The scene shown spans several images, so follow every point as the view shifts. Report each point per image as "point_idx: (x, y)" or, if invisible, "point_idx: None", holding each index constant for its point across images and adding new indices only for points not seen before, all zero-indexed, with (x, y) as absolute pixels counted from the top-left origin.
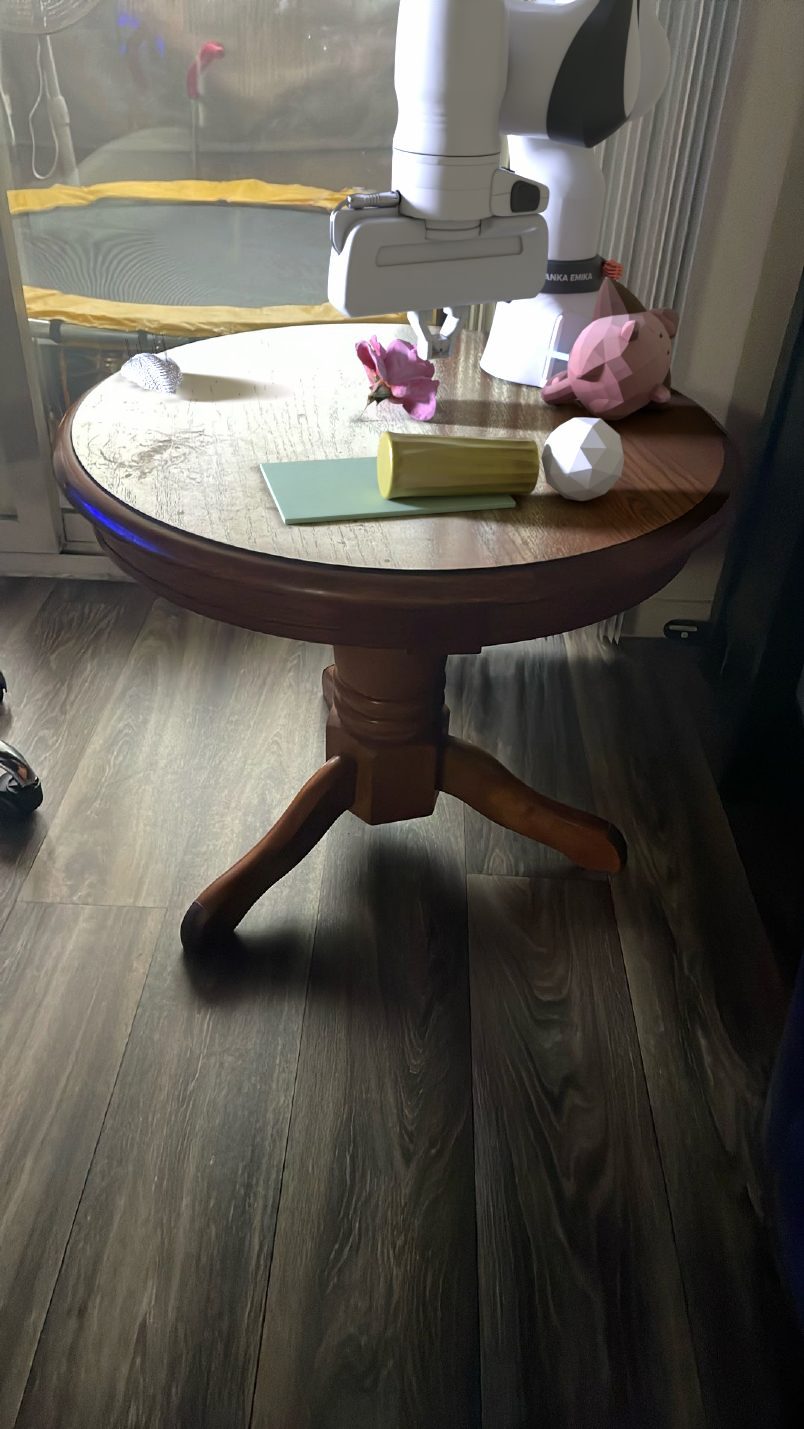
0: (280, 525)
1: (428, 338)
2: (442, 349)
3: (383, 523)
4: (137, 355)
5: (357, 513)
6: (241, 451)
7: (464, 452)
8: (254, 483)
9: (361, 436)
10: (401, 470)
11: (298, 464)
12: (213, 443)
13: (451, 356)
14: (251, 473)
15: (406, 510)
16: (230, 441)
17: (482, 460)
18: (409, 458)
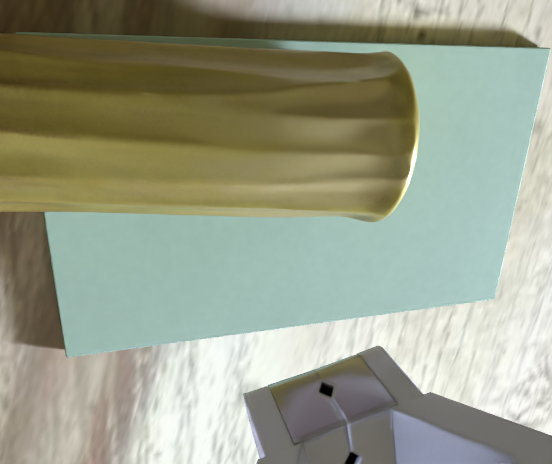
0: (548, 47)
1: (431, 402)
2: (321, 391)
3: (372, 11)
4: None
5: (421, 47)
6: (489, 360)
7: (190, 82)
8: (518, 235)
9: None
10: (373, 57)
11: (439, 292)
12: (514, 388)
13: (254, 390)
14: (507, 275)
15: (317, 41)
16: (489, 397)
17: (128, 60)
18: (359, 75)
